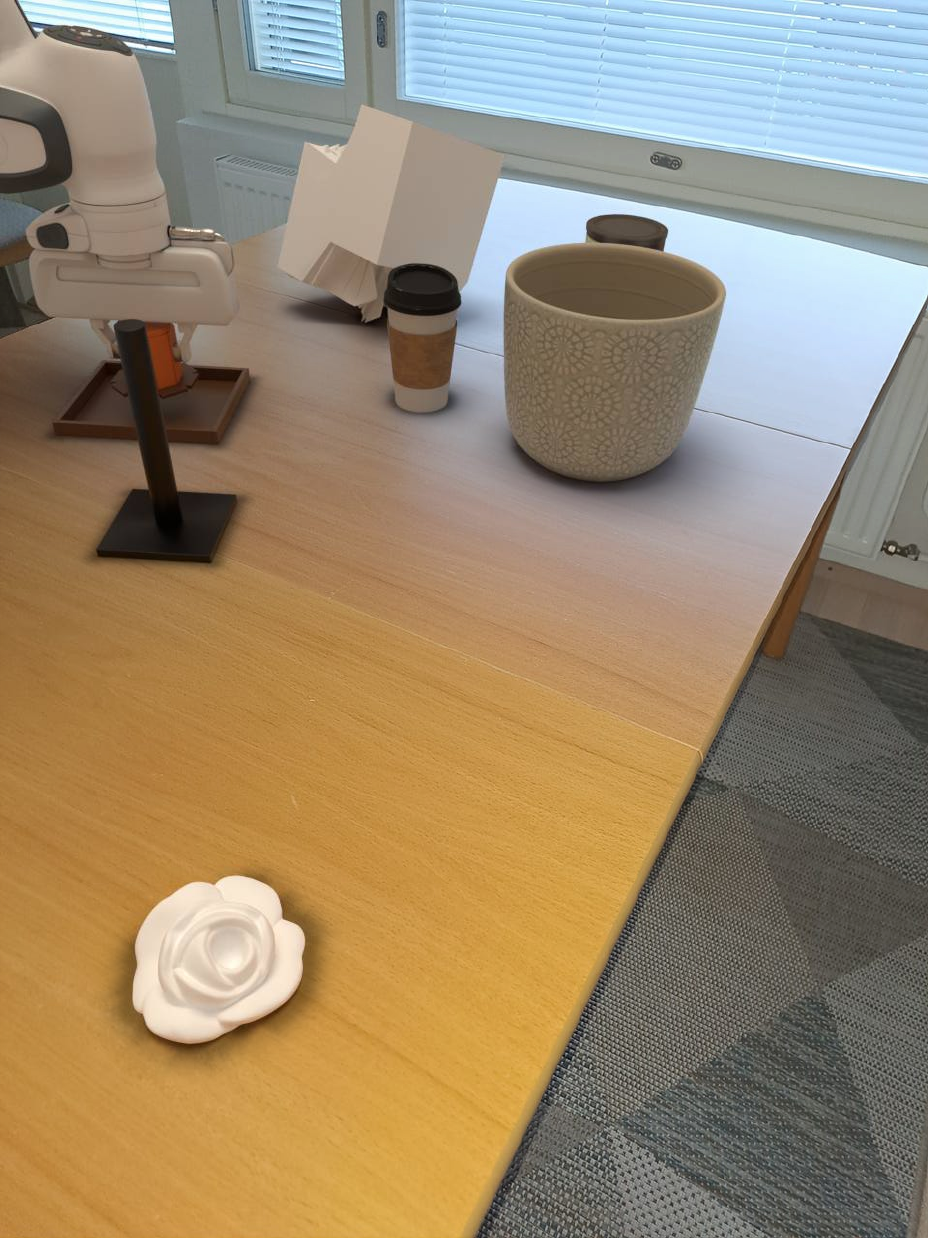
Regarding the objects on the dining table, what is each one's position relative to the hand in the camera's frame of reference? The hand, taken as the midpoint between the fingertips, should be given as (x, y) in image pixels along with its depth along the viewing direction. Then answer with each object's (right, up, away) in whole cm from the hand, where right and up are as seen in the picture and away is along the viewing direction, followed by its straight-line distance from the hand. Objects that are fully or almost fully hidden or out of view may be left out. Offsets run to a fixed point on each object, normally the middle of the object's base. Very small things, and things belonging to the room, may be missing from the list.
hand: (150, 358), depth 98 cm
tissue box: (+23, +14, +29) cm, 39 cm away
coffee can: (+54, +11, +26) cm, 61 cm away
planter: (+47, -10, +1) cm, 48 cm away
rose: (+20, -48, -45) cm, 69 cm away
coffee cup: (+29, -3, +8) cm, 30 cm away
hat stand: (+7, -20, -13) cm, 25 cm away
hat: (0, -2, +2) cm, 3 cm away
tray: (0, -5, +4) cm, 6 cm away
